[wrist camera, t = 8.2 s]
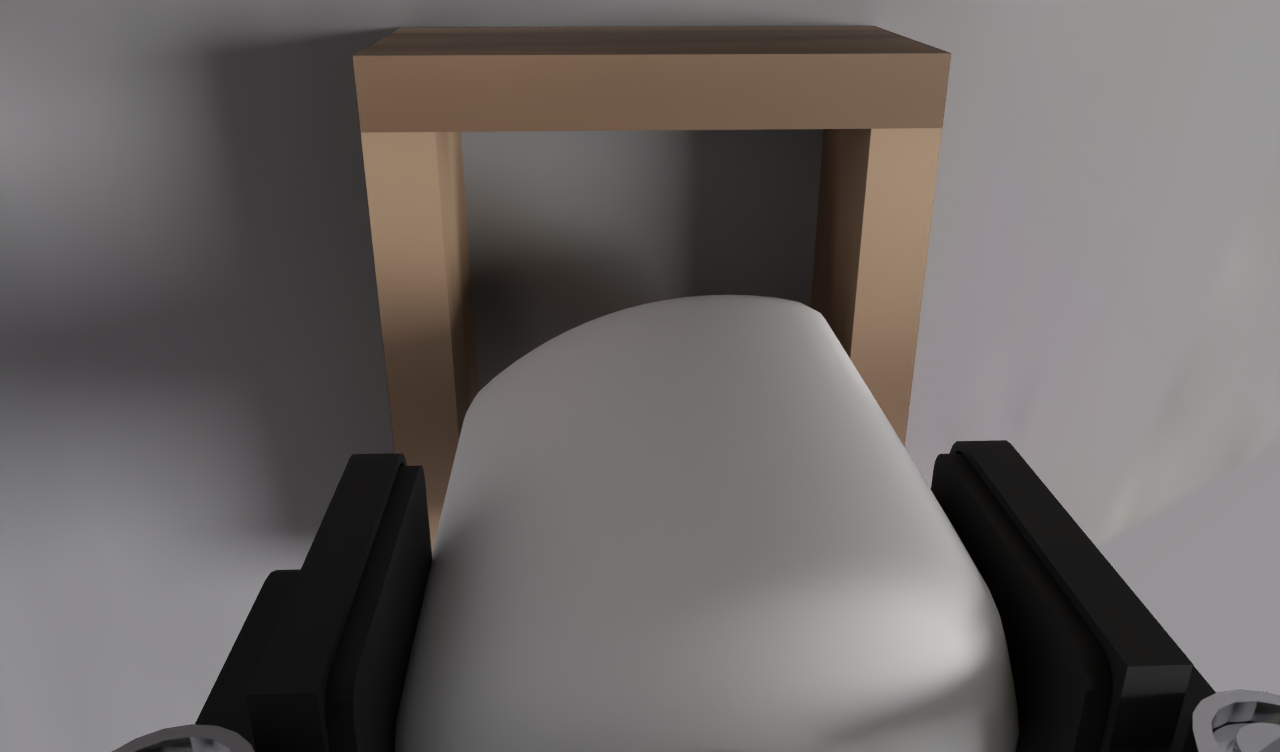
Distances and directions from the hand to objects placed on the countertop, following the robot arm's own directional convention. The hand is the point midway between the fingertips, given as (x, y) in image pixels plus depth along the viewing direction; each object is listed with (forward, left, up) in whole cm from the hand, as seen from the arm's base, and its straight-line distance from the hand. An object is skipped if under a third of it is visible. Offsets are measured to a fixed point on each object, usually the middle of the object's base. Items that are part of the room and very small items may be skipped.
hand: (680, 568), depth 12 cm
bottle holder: (0, 0, -9) cm, 9 cm away
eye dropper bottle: (0, 0, -5) cm, 5 cm away
